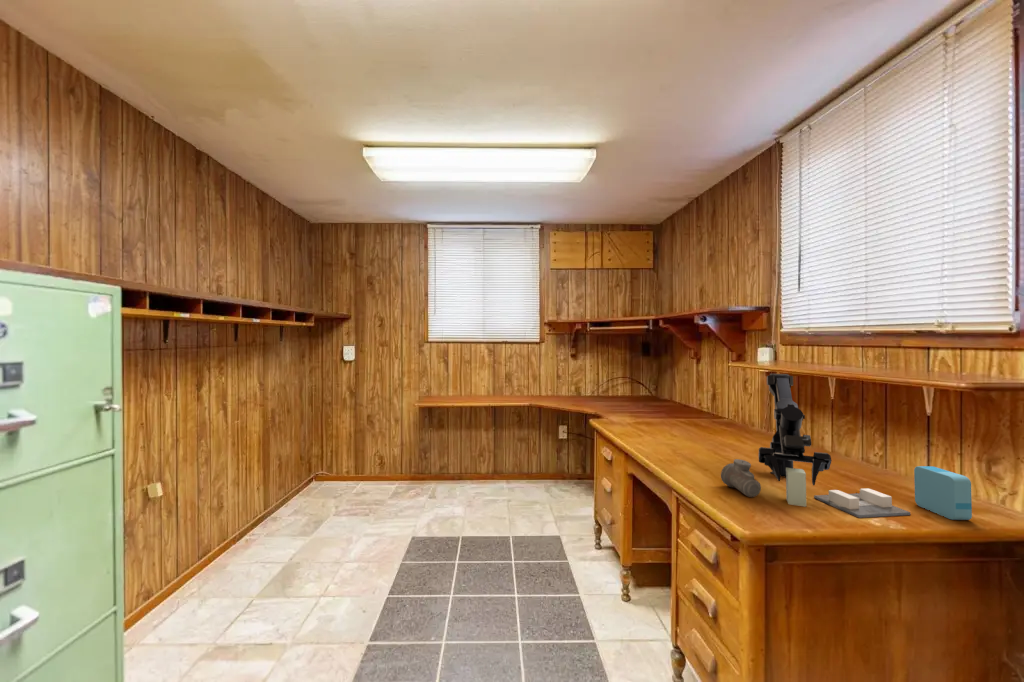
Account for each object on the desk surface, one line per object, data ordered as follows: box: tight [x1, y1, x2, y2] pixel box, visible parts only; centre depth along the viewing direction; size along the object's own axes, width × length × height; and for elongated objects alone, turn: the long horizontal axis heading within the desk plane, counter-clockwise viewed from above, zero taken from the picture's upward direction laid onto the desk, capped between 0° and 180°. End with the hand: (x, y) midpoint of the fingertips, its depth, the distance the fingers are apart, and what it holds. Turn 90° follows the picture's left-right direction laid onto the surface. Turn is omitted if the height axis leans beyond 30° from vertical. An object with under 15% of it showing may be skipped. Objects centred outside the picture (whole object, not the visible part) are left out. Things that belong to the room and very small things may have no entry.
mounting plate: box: [813, 492, 911, 519], centre depth 122 cm, size 16×15×1 cm
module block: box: [785, 467, 807, 508], centre depth 125 cm, size 4×4×10 cm
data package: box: [913, 465, 973, 521], centre depth 117 cm, size 12×4×12 cm, turn 176°
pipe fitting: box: [720, 458, 762, 498], centre depth 135 cm, size 12×8×10 cm
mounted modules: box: [828, 488, 893, 509], centre depth 122 cm, size 14×7×3 cm, turn 95°
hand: (796, 482), depth 124 cm, fingers open, 8 cm apart
